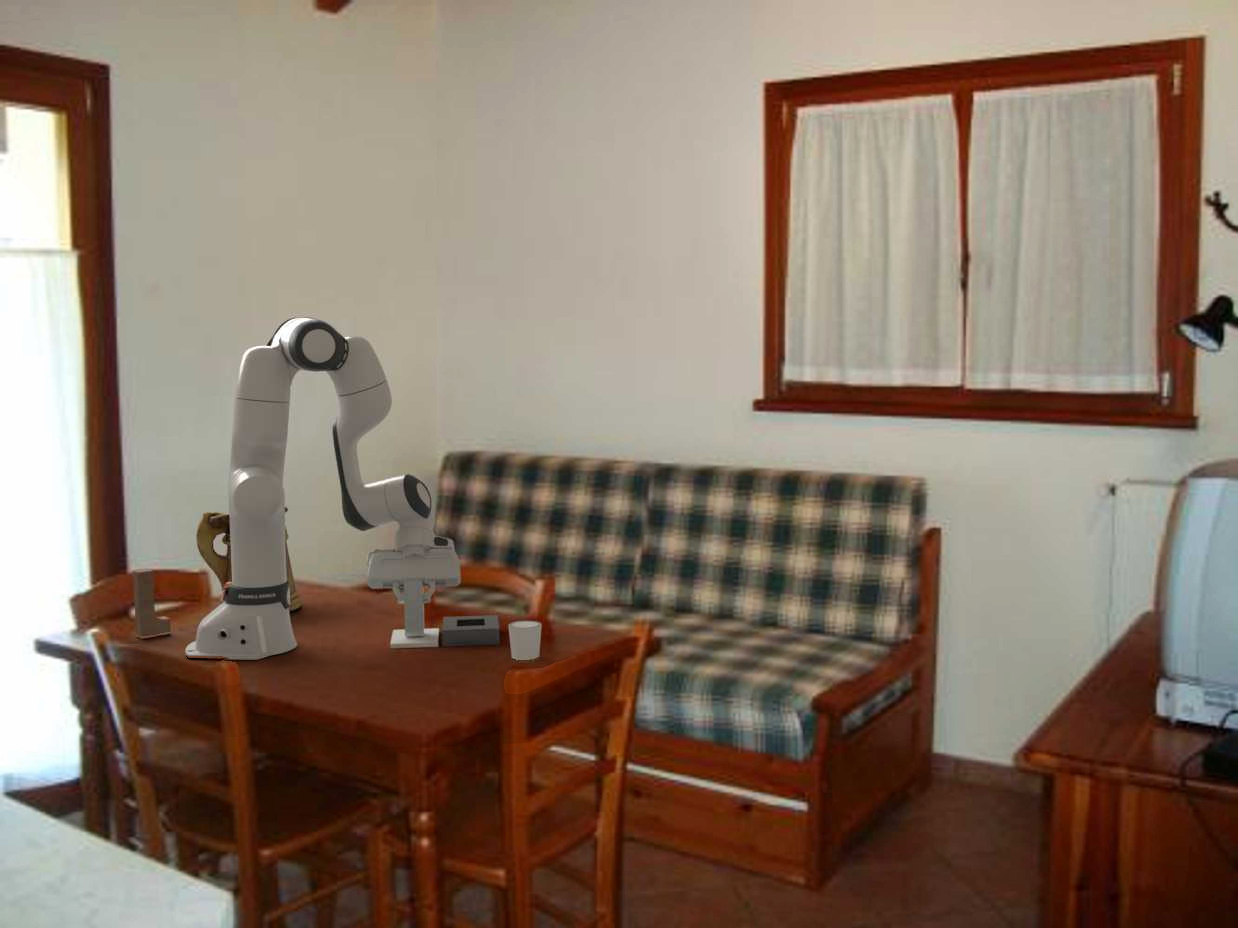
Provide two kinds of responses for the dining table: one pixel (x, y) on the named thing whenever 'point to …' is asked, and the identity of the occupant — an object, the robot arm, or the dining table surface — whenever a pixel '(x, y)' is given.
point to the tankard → (221, 564)
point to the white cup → (525, 639)
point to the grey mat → (415, 639)
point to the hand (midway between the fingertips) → (413, 601)
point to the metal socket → (470, 630)
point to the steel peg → (414, 606)
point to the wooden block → (147, 605)
